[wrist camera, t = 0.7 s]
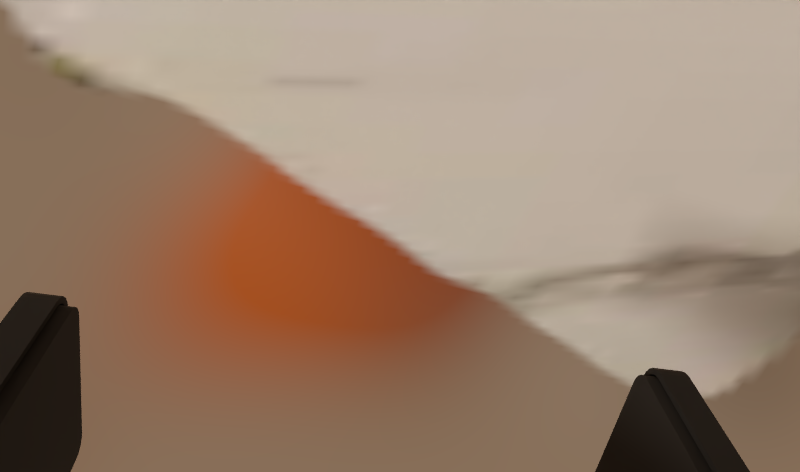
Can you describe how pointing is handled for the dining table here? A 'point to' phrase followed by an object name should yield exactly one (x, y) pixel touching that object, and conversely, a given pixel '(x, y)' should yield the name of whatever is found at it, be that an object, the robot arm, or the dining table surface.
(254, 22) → the dining table surface
